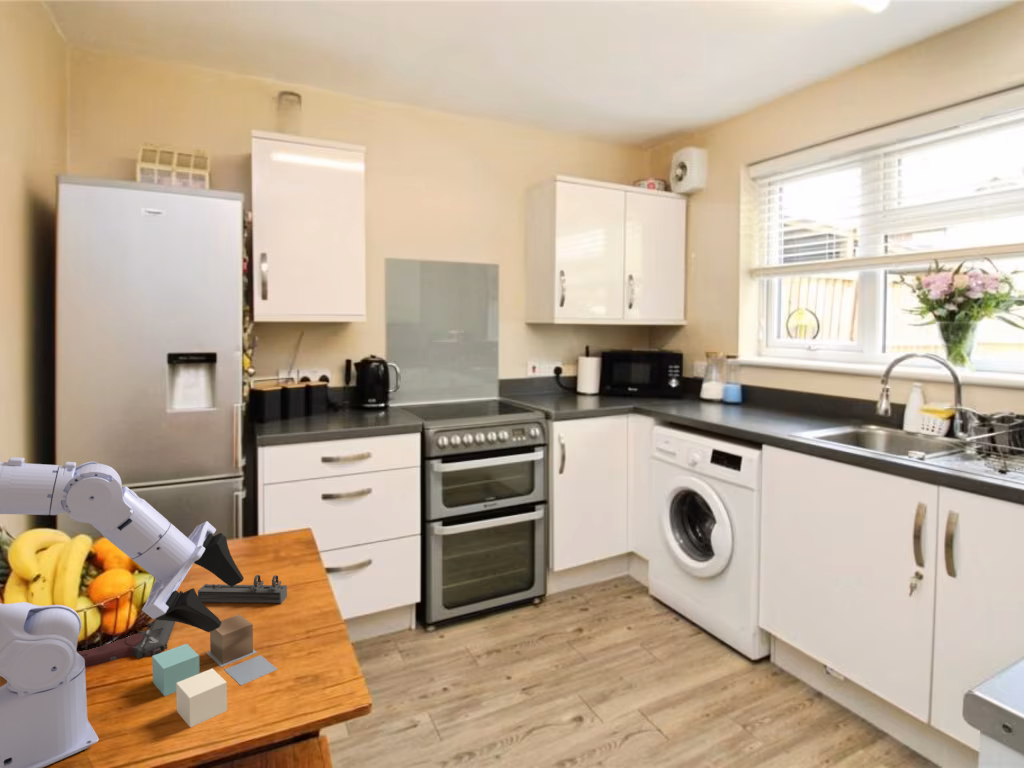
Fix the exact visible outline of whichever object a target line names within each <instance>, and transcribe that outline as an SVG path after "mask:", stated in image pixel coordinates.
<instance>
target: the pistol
mask: <svg viewBox="0 0 1024 768" xmlns="http://www.w3.org/2000/svg"><path fill="white" fill-rule="evenodd" d="M147 623H148V624H147V626H146V627H149V628H148V629H147V630H143V631H140V630H138V631H139V632H138V633H133V634H132V635H131V634H130V636H128V637H126V636H125V637H123V638H121V639H120V638H119V639H115V640H116V641H115V640H113V641H114V642H112V643H109V644H107V645H103V646H100V647H96V648H92V649H89V650H83V651H78V650H77V653H78V654H79V655H81V656H82V657H83V658H84V660H85V668H86V667H91V666H96V665H101V664H105V663H108V662H112V661H116V660H119V659H120V660H121V659H122V658H127V657H137V659H138V660H139V659H143V658H144V657H145V658H147V657H150V656H154V655H156V654H159V653H162V652H165V651H166V650H167V649H168V642H169V640H170V636H171V635H172V632H173V628H174V625H175V623H176V622H175V621H167V620H157V619H155V620H154V621H153V622H147Z"/></svg>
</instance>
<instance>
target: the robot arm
mask: <svg viewBox="0 0 1024 768" xmlns="http://www.w3.org/2000/svg"><path fill="white" fill-rule="evenodd" d="M122 485H123V484H122V479H121V477H120V474H119V473H118V472H117V471H116V470H115V468H113V467H112V466H109V465H108V464H104V463H98V462H96V461H88V462H83V463H81V464H79V465H77V462H75V461H73V462H72V461H66V462H65V464H64V465H61V464H60V465H59V464H42V463H26V462H25V457H21V456H20V457H19V456H18V457H17V456H16V457H15V456H11V457H10V458H9V459H8V460H7V462H5V461H0V515H24V516H25V515H29V516H30V515H31V516H32V515H33V516H34V515H36V516H37V515H38V516H49V515H50V516H57V515H59V514H65V513H67V518H69V519H70V520H72V521H75V522H79V523H82V524H83V523H84V524H90V525H91V526H92V527H93V528H95V529H96V530H97V531H98V532H99V533H100V534H101V535H102V536H103V537H104V538H105V539H106V540H108V541H109V542H110V543H112V544H113V545H114V547H116V548H118V549H119V550H120V551H121V552H122V553H124V554H125V555H126V556H127V557H129V559H131V560H132V561H133V562H135V563H136V564H137V565H139V567H141V568H142V569H144V571H146V572H147V573H149V575H151V576H152V577H153V578H154V579H155V580H154V583H153V585H152V588H151V590H150V593H149V595H148V598H147V600H146V602H145V604H144V605H143V606H142V609H141V611H142V612H143V613H145V614H146V615H148V616H149V617H150V618H151V619H152V620H154V619H155V620H156V619H157V620H167V621H175V623H180V624H184V625H188V626H191V627H193V628H194V627H195V628H196V629H199V630H201V631H205V632H207V633H210V632H211V631H213V630H215V629H217V628H219V627H220V625H221V623H222V622H221V621H222V620H220V619H219V617H218V616H217V615H216V614H215V613H213V612H212V611H211V610H210V609H209V608H208V607H207V606H206V605H205V604H204V603H202V601H201V600H200V599H199V597H198V593H197V592H196V590H195V588H190V589H188V590H186V591H184V592H183V591H182V590H179V591H178V589H179V587H180V586H181V584H182V583H183V580H184V579H185V578H186V576H187V574H188V572H190V569H191V568H192V567H193V565H194V564H195V565H196V566H199V567H201V568H203V569H205V570H207V571H208V572H210V573H212V574H213V575H215V577H217V578H218V579H219V580H221V581H222V582H223V583H224V584H225V585H229V586H231V587H232V586H234V585H239V584H240V583H242V582H243V581H244V579H245V578H244V576H243V574H242V572H241V571H240V569H239V568H238V566H237V565H236V562H235V560H234V559H233V556H232V555H231V552H230V549H229V545H228V541H227V537H226V535H225V534H223V533H222V532H219V533H217V534H216V535H215V533H216V531H217V528H216V527H214V526H213V525H212V524H211V523H210V522H209V521H208V520H206V521H204V522H202V523H201V524H198V525H196V527H195V528H194V529H193V531H192V532H191V533H190V534H189V536H187V535H185V534H184V533H183V532H182V531H180V530H179V529H178V528H177V527H176V526H175V525H174V524H172V522H170V521H169V520H168V519H167V518H166V517H165V516H163V515H162V514H161V513H160V512H159V511H158V510H156V509H155V507H153V506H152V505H151V504H150V503H149V502H148V501H146V499H144V498H141V497H140V496H138V494H137V493H136V492H134V491H133V490H132V489H130V488H129V487H128V486H127V485H125V486H123V487H122ZM81 630H82V620H81V617H80V615H79V614H78V612H77V611H76V610H75V609H73V608H72V607H69V606H67V605H62V604H50V605H37V604H34V603H31V602H27V601H23V602H14V603H13V602H12V603H1V602H0V677H1V678H4V680H6V683H5V684H3V685H1V686H0V768H45V767H47V766H49V765H51V764H54V763H56V762H58V761H61V760H63V759H66V758H68V757H70V756H72V755H75V754H77V753H79V752H81V751H83V750H87V749H88V748H91V746H92V745H94V744H96V743H98V742H99V741H100V739H99V737H98V734H97V732H96V731H95V730H94V728H93V726H92V725H91V723H90V721H89V720H88V705H87V703H88V702H87V684H86V683H87V680H86V679H87V678H86V667H85V660H84V658H83V657H82V656H81V655H79V654H78V653H77V652H78V650H77V648H78V641H79V635H80V633H81Z"/></svg>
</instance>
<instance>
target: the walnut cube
mask: <svg viewBox="0 0 1024 768" xmlns="http://www.w3.org/2000/svg"><path fill="white" fill-rule="evenodd" d="M220 621H221V622H222V623H221V625H220V627H219V628H217V629H215V630H213V631H211V632H209V633H210V636H209V637H210V638H209V640H210V641H209V642H210V643H209V644H210V650H209V651H211V654H213V655H214V656H215V657H216V658H217V659H218V660H219V661H220V662H221V663H222V664H225V663H227V662H230V661H232V660H235V659H237V658H240V657H242V656H245V655H247V654H250V653H252V652H253V649H254V632H253V630H254V628H253V626H254V624H253V623H251V622H250V621H249V620H248V619H247V618H245V617H243V616H242V615H241V614H236V615H234V616H231V617H228V618H225V619H222V620H220Z"/></svg>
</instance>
